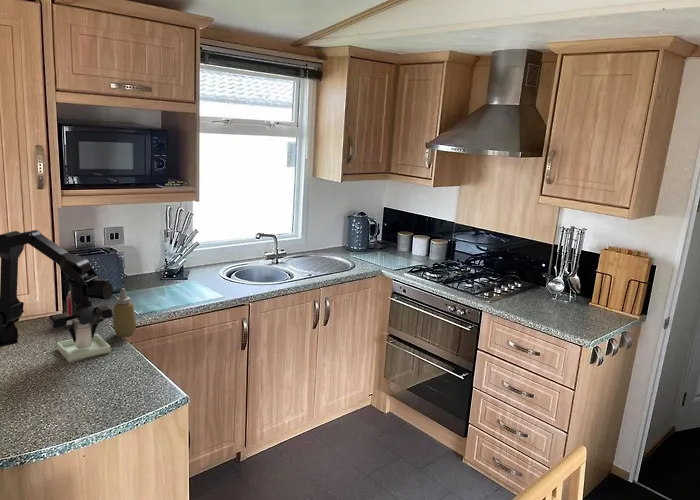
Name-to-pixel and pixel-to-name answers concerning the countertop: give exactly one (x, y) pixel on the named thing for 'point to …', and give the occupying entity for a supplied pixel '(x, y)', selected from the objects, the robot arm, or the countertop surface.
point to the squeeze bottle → (124, 316)
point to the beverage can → (69, 305)
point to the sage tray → (77, 354)
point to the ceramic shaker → (82, 335)
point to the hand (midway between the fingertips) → (83, 339)
